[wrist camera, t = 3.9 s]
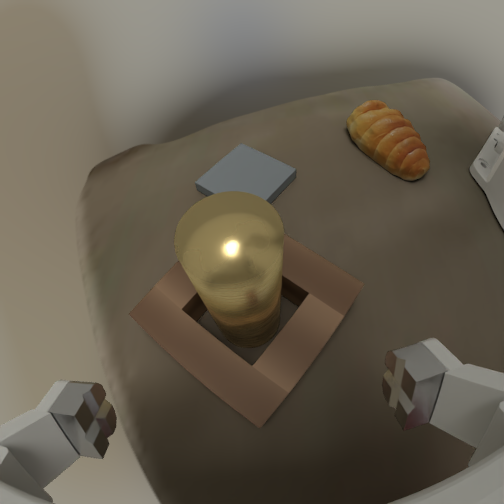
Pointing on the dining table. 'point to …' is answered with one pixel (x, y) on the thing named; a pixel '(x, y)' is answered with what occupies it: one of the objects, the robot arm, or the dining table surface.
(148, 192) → the dining table surface
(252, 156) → the mat
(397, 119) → the pastry
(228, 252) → the peg
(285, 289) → the wooden square frame
